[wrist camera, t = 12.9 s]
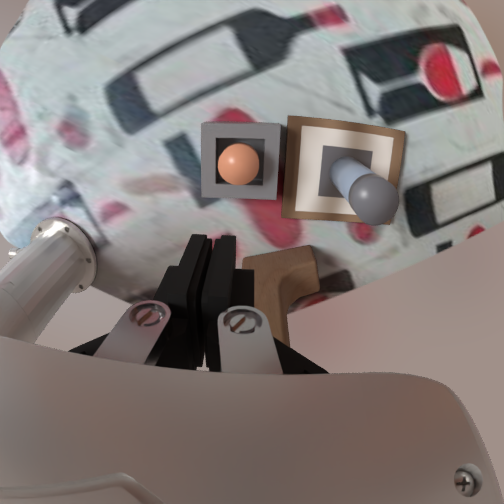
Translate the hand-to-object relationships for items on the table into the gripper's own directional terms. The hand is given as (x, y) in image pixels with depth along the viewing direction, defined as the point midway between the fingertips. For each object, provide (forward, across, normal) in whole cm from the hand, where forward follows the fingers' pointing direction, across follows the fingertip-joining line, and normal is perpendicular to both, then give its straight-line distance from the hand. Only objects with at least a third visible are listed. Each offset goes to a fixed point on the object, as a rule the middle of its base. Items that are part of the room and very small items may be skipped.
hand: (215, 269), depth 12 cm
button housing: (+25, 0, 0) cm, 25 cm away
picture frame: (+25, -12, +1) cm, 27 cm away
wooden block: (+25, -5, +14) cm, 29 cm away
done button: (+22, 0, 0) cm, 22 cm away
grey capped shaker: (+24, -12, +1) cm, 26 cm away
